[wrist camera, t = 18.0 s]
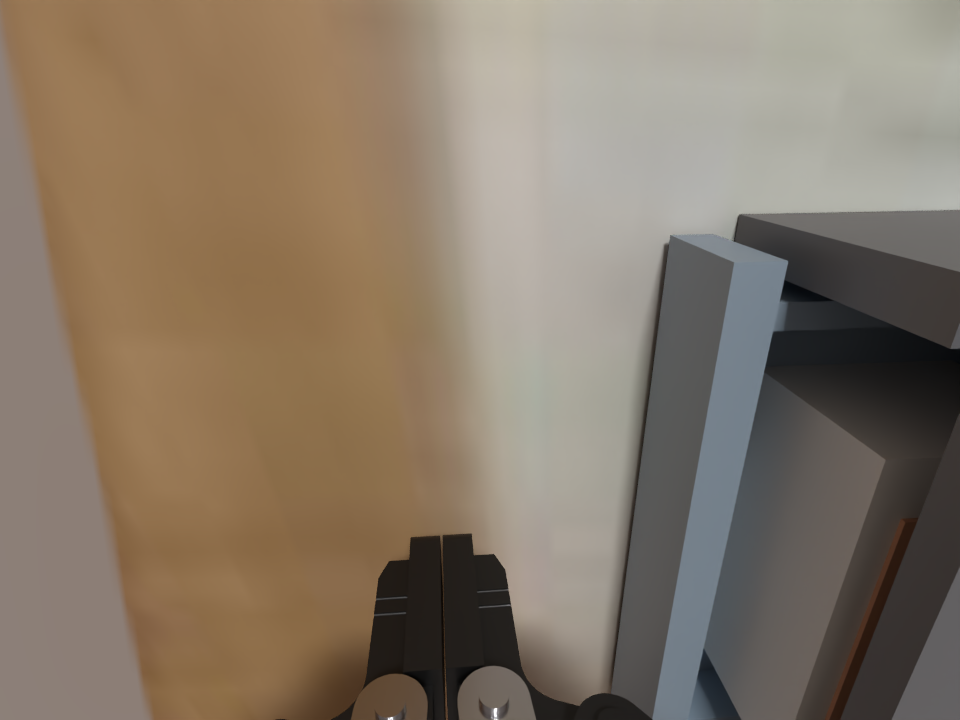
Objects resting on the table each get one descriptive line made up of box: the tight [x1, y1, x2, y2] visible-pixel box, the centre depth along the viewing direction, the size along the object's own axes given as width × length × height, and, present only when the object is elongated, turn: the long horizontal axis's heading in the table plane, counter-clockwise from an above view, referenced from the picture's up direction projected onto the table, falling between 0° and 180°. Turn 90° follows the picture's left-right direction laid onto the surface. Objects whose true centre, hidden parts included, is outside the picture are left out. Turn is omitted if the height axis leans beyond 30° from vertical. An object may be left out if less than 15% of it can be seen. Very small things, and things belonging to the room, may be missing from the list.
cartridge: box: [704, 360, 960, 720], centre depth 13 cm, size 5×9×4 cm, turn 0°
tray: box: [611, 234, 960, 720], centre depth 14 cm, size 14×15×3 cm
